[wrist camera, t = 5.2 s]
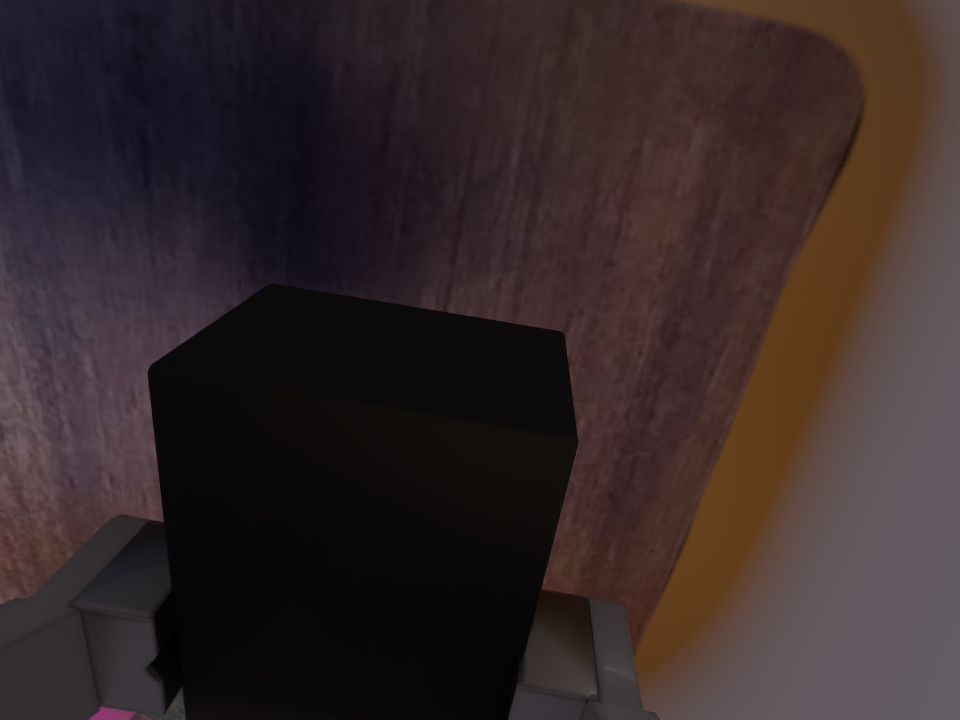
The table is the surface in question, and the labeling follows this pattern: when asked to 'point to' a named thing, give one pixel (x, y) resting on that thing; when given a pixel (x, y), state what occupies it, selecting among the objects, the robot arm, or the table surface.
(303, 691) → the black pad
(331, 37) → the table surface
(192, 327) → the table surface
